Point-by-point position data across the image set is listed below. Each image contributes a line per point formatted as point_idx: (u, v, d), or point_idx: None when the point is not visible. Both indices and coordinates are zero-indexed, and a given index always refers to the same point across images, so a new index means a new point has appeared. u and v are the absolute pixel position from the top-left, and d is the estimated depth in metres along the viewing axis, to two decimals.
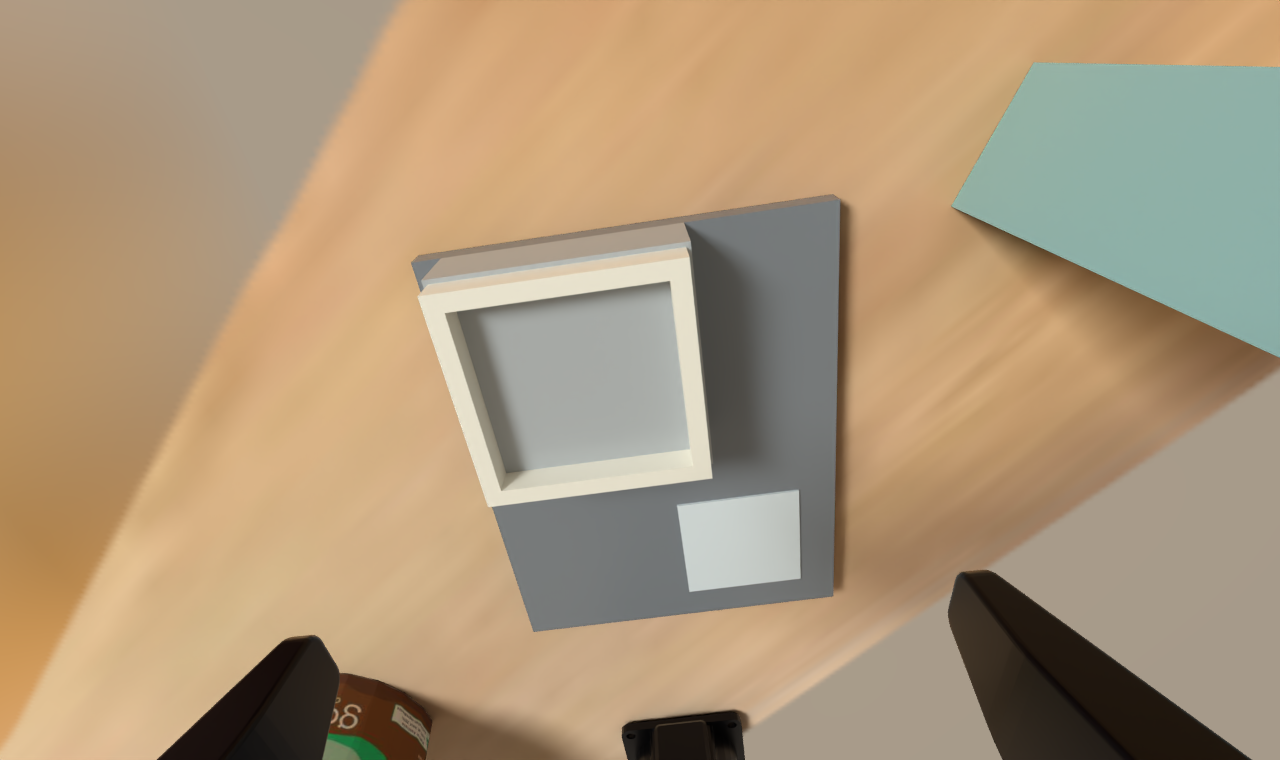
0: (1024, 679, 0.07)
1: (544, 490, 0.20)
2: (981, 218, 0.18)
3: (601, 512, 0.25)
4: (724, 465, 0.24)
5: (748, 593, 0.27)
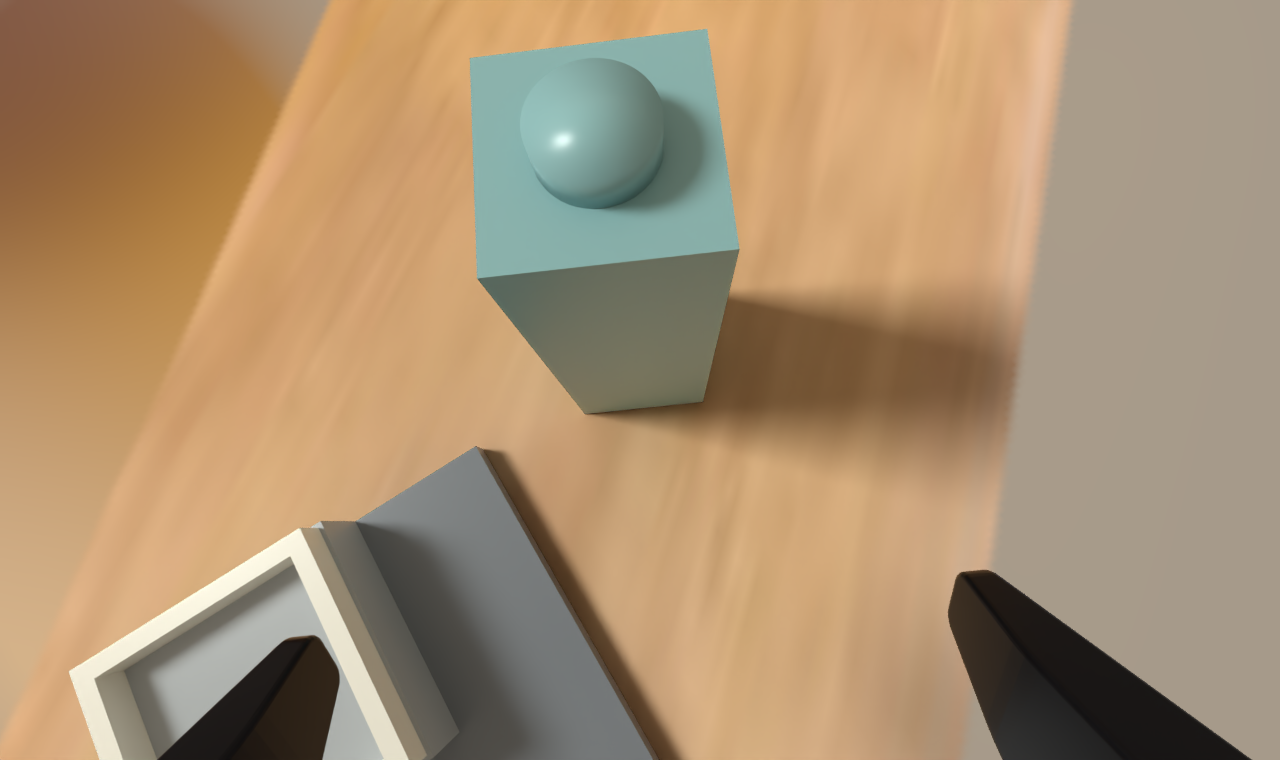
0: (1024, 679, 0.07)
1: None
2: (577, 403, 0.21)
3: None
4: None
5: None
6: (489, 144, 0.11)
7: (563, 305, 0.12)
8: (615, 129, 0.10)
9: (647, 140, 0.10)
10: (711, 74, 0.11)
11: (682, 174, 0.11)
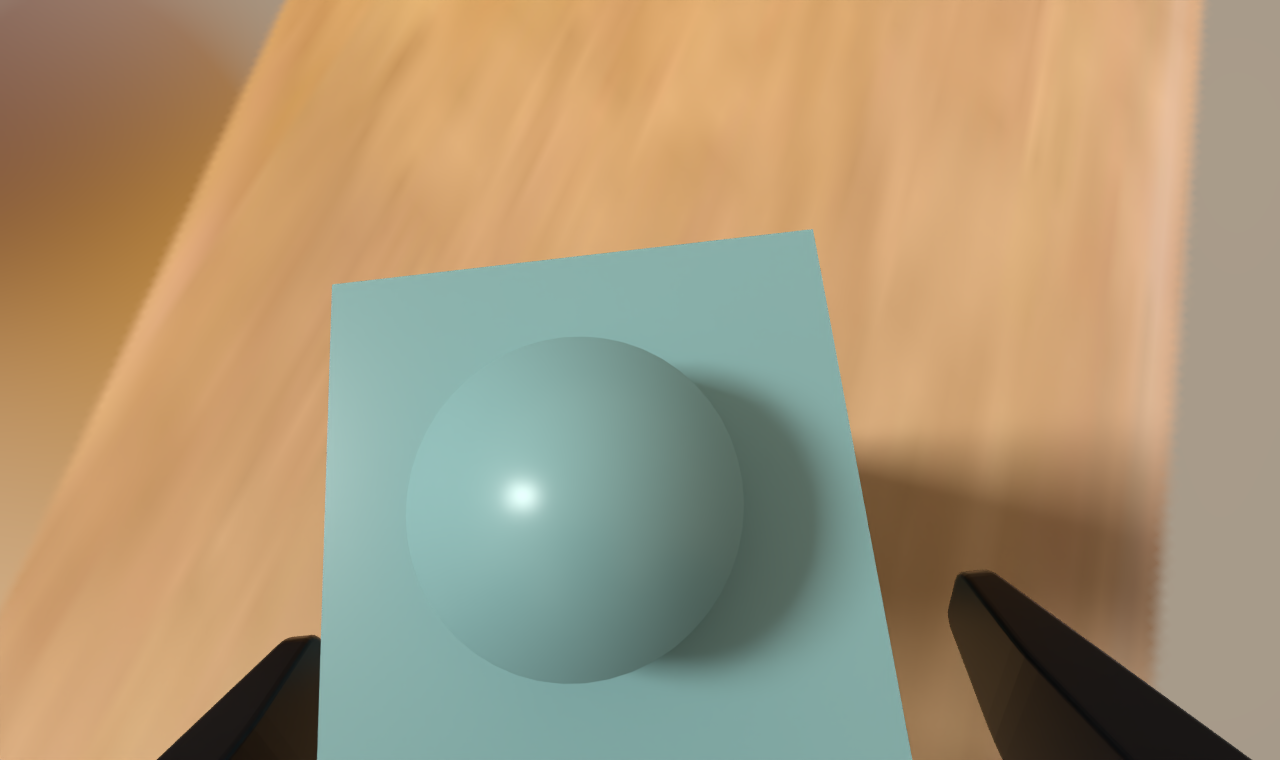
0: (1024, 679, 0.07)
1: None
2: None
3: None
4: None
5: None
6: (360, 487, 0.05)
7: None
8: (629, 528, 0.04)
9: (707, 562, 0.04)
10: (827, 333, 0.05)
11: (775, 576, 0.05)
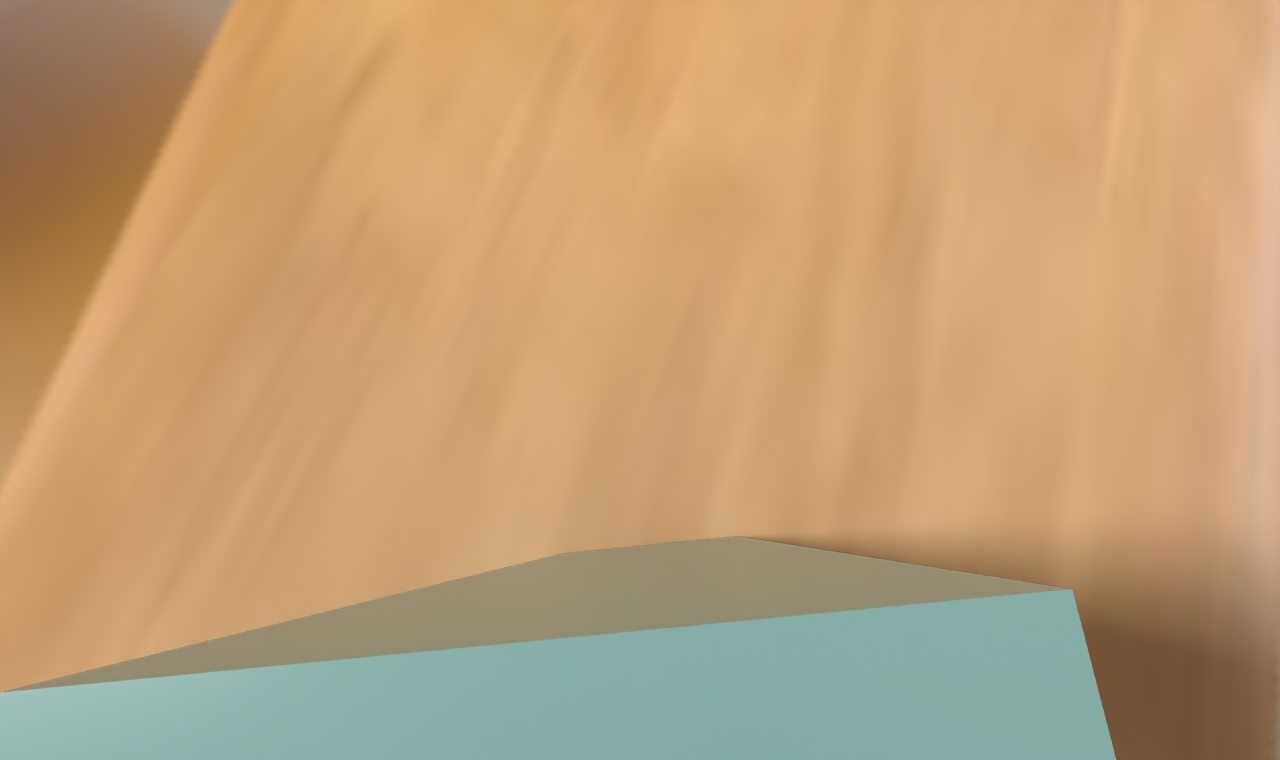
0: None
1: None
2: None
3: None
4: None
5: None
6: None
7: None
8: None
9: None
10: None
11: None
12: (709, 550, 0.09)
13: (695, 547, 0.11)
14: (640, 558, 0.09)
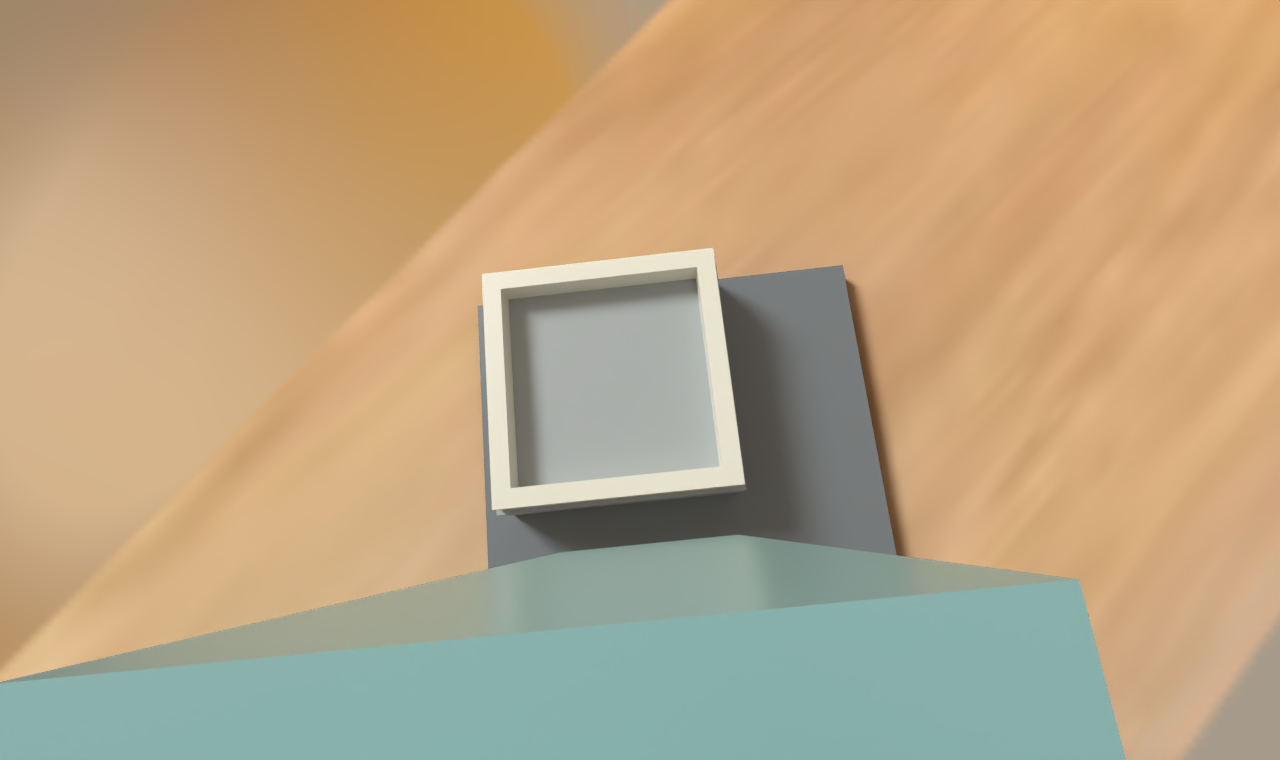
0: None
1: (557, 490, 0.18)
2: None
3: None
4: None
5: None
6: None
7: None
8: None
9: None
10: None
11: None
12: (710, 547, 0.09)
13: (696, 545, 0.11)
14: (640, 555, 0.09)
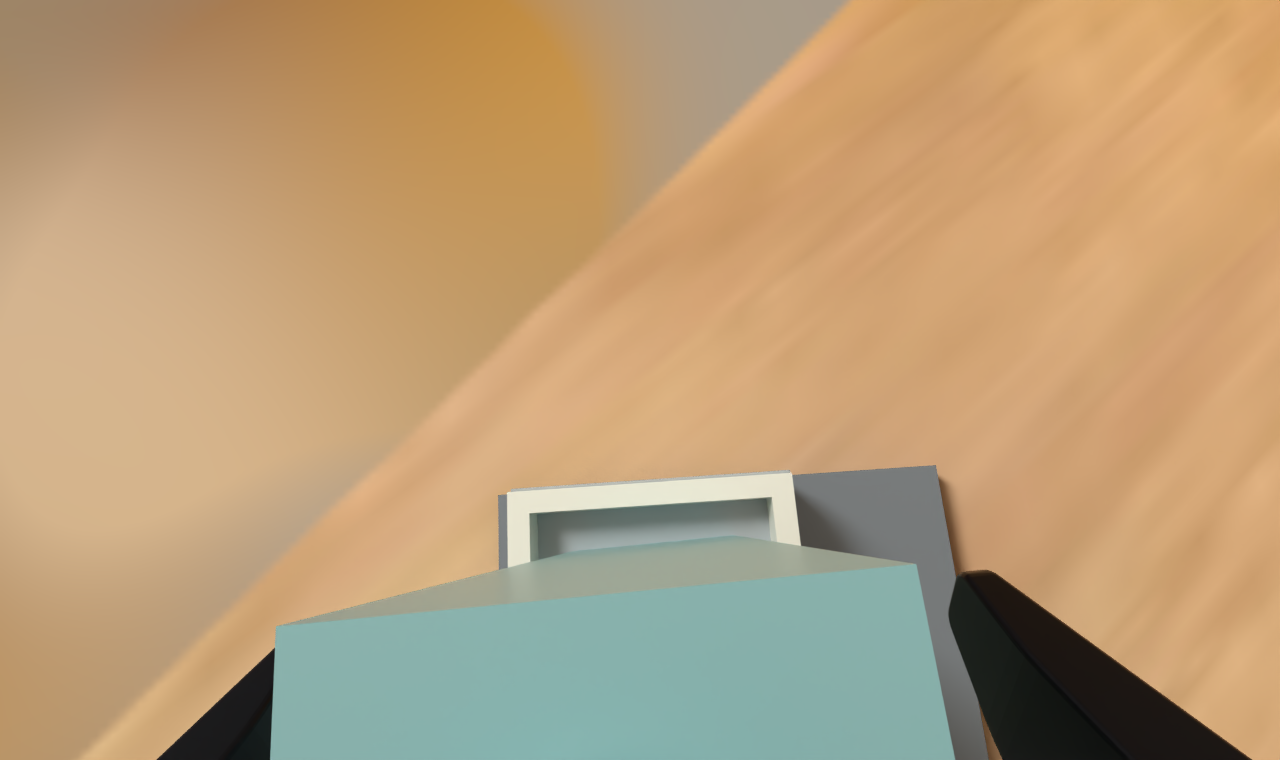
0: (1025, 679, 0.07)
1: None
2: None
3: None
4: None
5: None
6: None
7: None
8: None
9: None
10: (942, 728, 0.04)
11: None
12: (706, 546, 0.11)
13: (695, 544, 0.12)
14: (649, 553, 0.10)
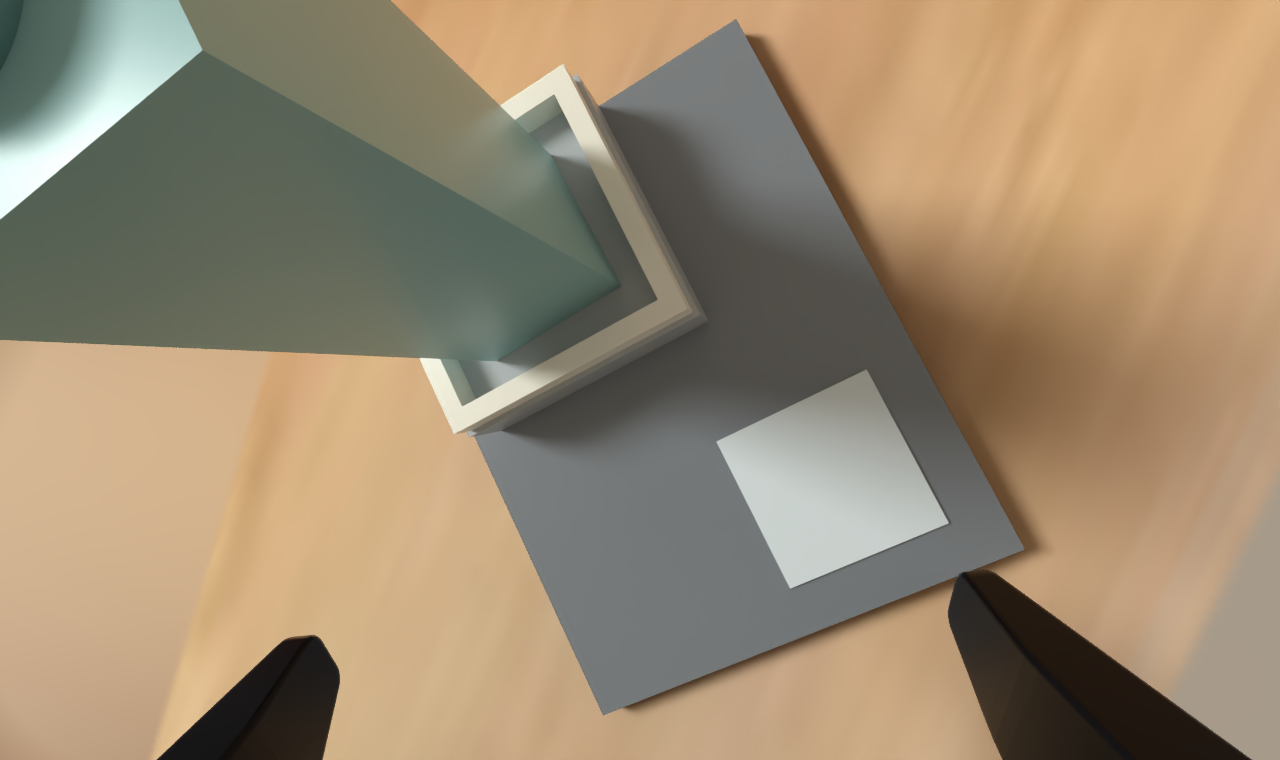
0: (1024, 679, 0.07)
1: (506, 390, 0.17)
2: (464, 358, 0.16)
3: (629, 479, 0.20)
4: (752, 363, 0.19)
5: (882, 574, 0.18)
6: None
7: (135, 292, 0.07)
8: None
9: None
10: None
11: None
12: None
13: None
14: None
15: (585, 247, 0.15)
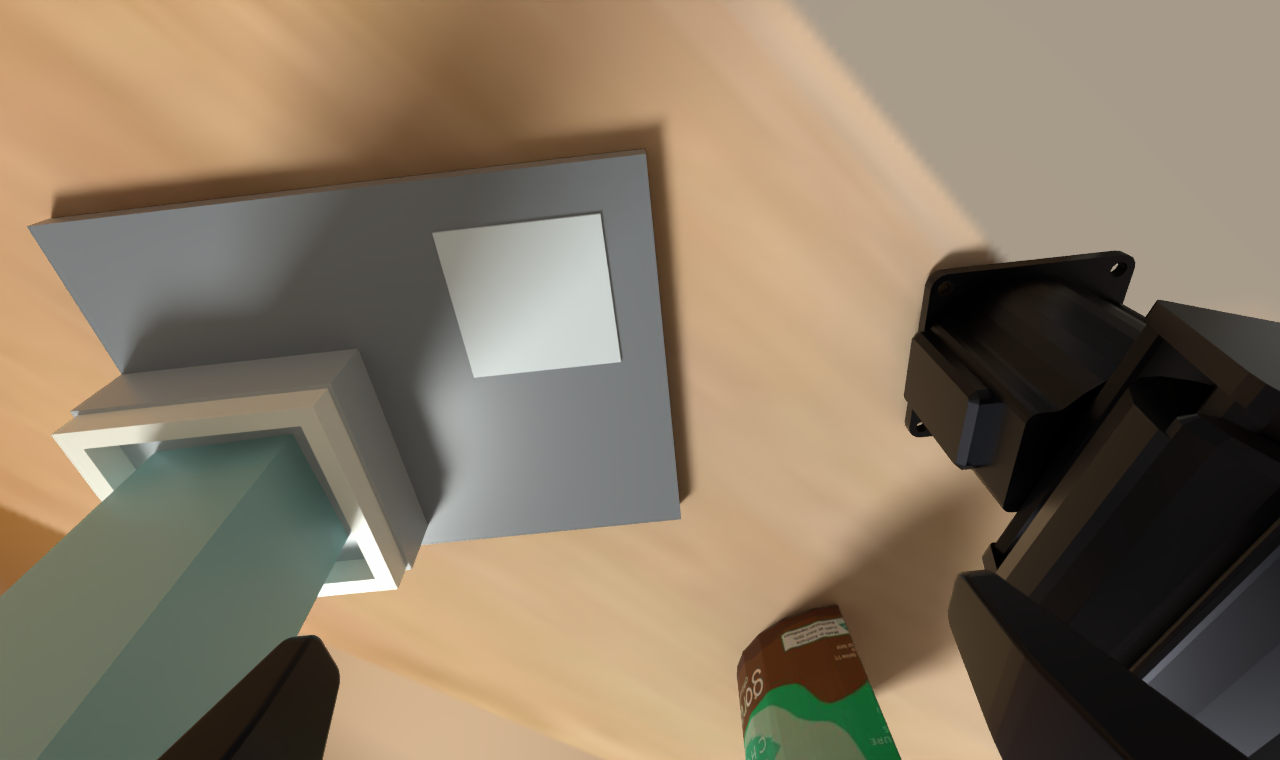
0: (1024, 679, 0.07)
1: (366, 548, 0.20)
2: (324, 579, 0.19)
3: (492, 450, 0.22)
4: (406, 326, 0.19)
5: (631, 285, 0.19)
6: None
7: None
8: None
9: None
10: None
11: None
12: None
13: None
14: None
15: (229, 484, 0.17)
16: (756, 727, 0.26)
